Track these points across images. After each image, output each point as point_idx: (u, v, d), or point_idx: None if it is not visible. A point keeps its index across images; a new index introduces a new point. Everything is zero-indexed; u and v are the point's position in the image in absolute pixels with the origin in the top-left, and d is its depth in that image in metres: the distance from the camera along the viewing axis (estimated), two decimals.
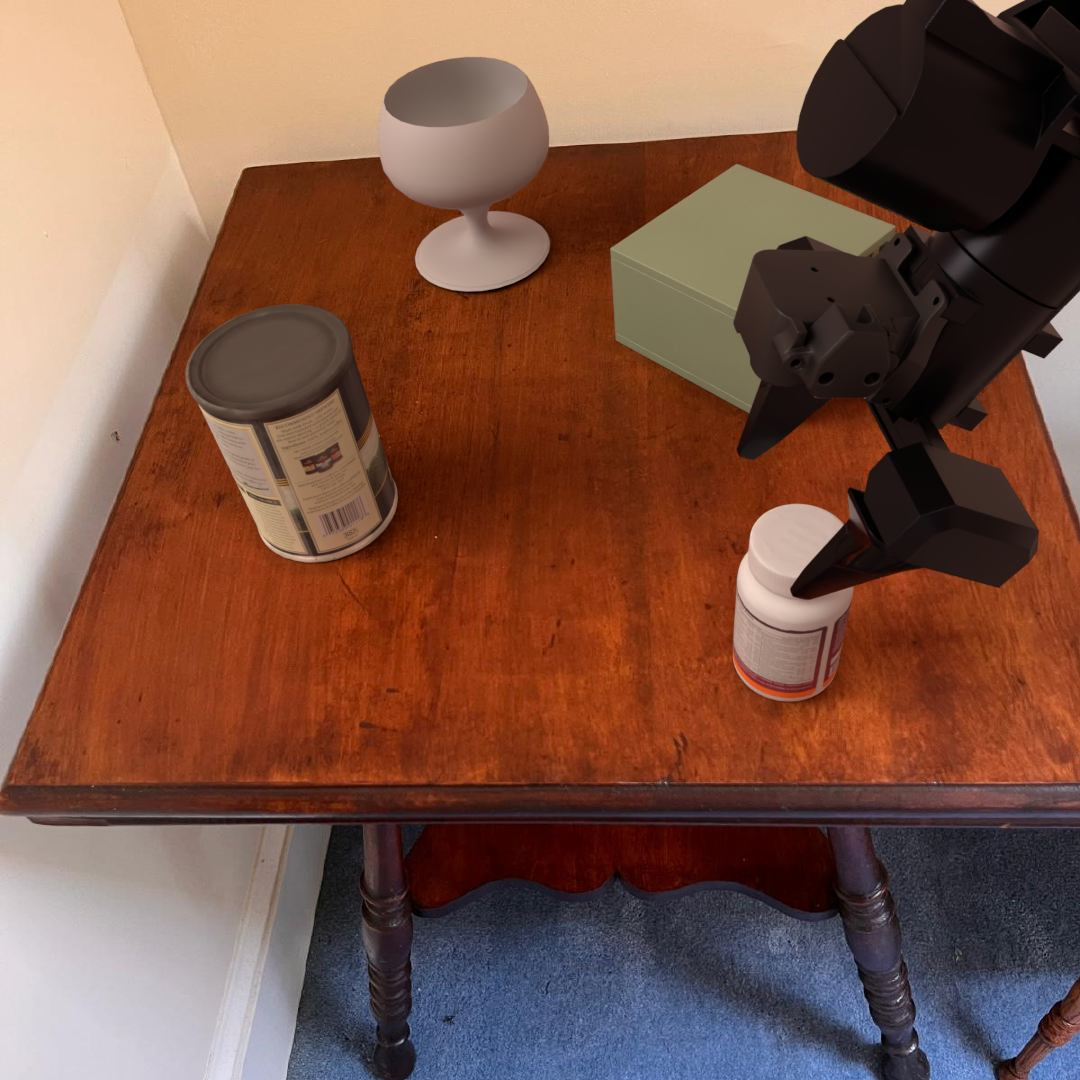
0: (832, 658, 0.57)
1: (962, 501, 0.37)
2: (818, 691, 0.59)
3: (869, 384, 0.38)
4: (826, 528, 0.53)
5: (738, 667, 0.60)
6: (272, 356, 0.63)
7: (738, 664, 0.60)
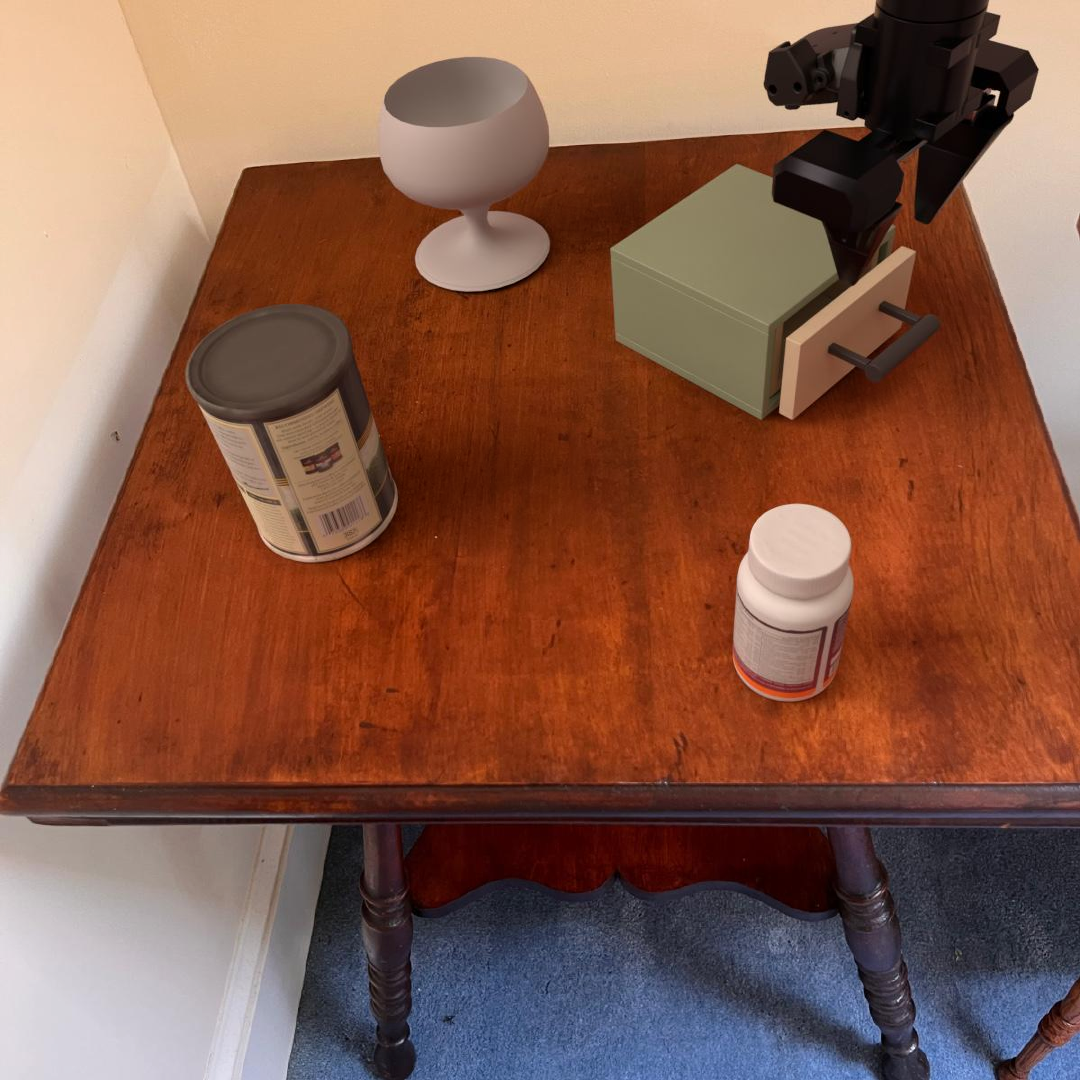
0: (832, 658, 0.57)
1: (800, 155, 0.57)
2: (818, 691, 0.59)
3: (798, 92, 0.59)
4: (826, 528, 0.53)
5: (738, 667, 0.60)
6: (272, 356, 0.63)
7: (738, 664, 0.60)
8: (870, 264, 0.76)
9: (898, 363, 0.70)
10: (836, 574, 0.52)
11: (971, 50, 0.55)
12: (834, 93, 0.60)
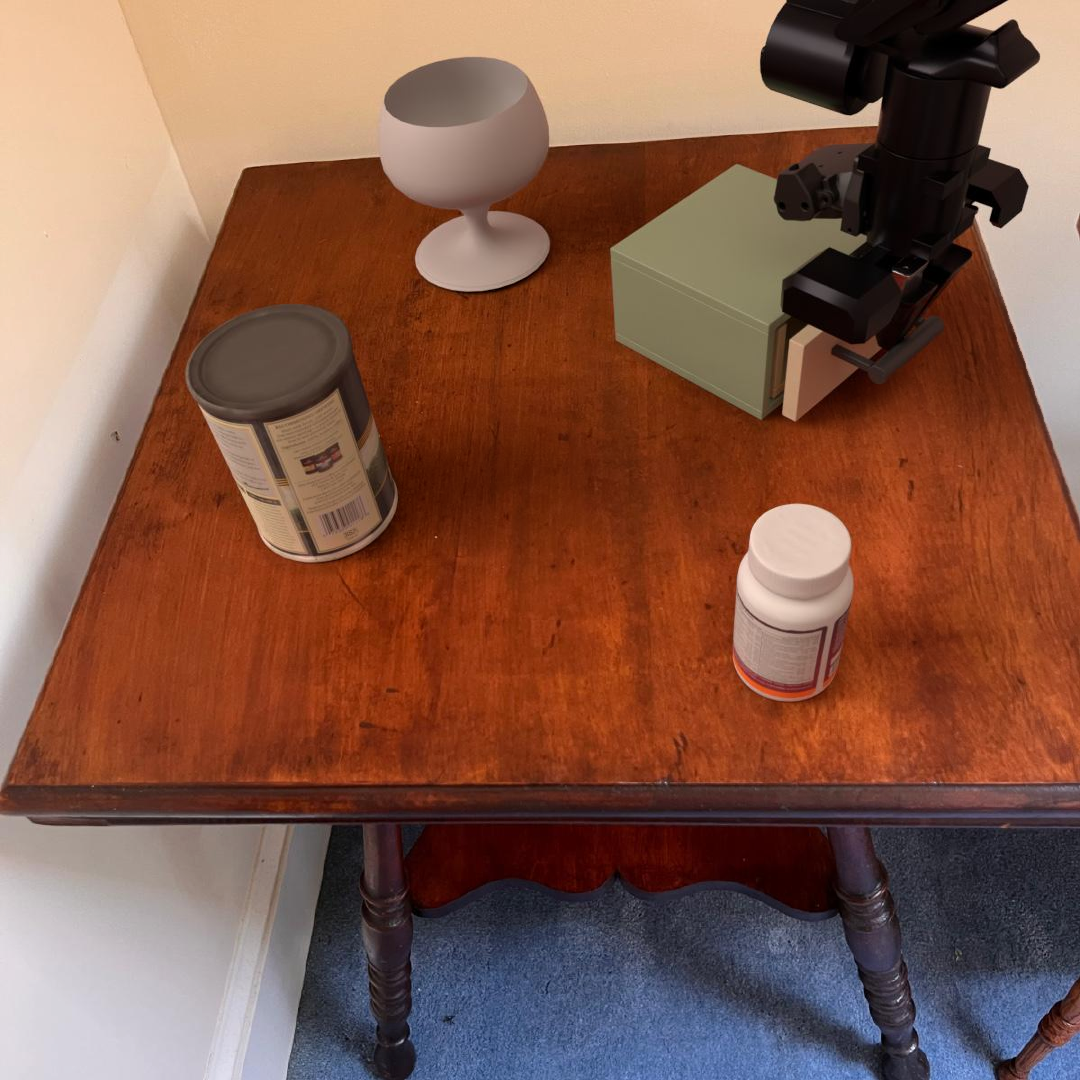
0: (832, 658, 0.57)
1: (806, 273, 0.62)
2: (818, 691, 0.59)
3: (806, 210, 0.65)
4: (825, 527, 0.53)
5: (738, 667, 0.60)
6: (272, 356, 0.63)
7: (738, 664, 0.60)
8: None
9: (902, 365, 0.70)
10: (836, 574, 0.52)
11: (963, 181, 0.60)
12: (838, 210, 0.65)
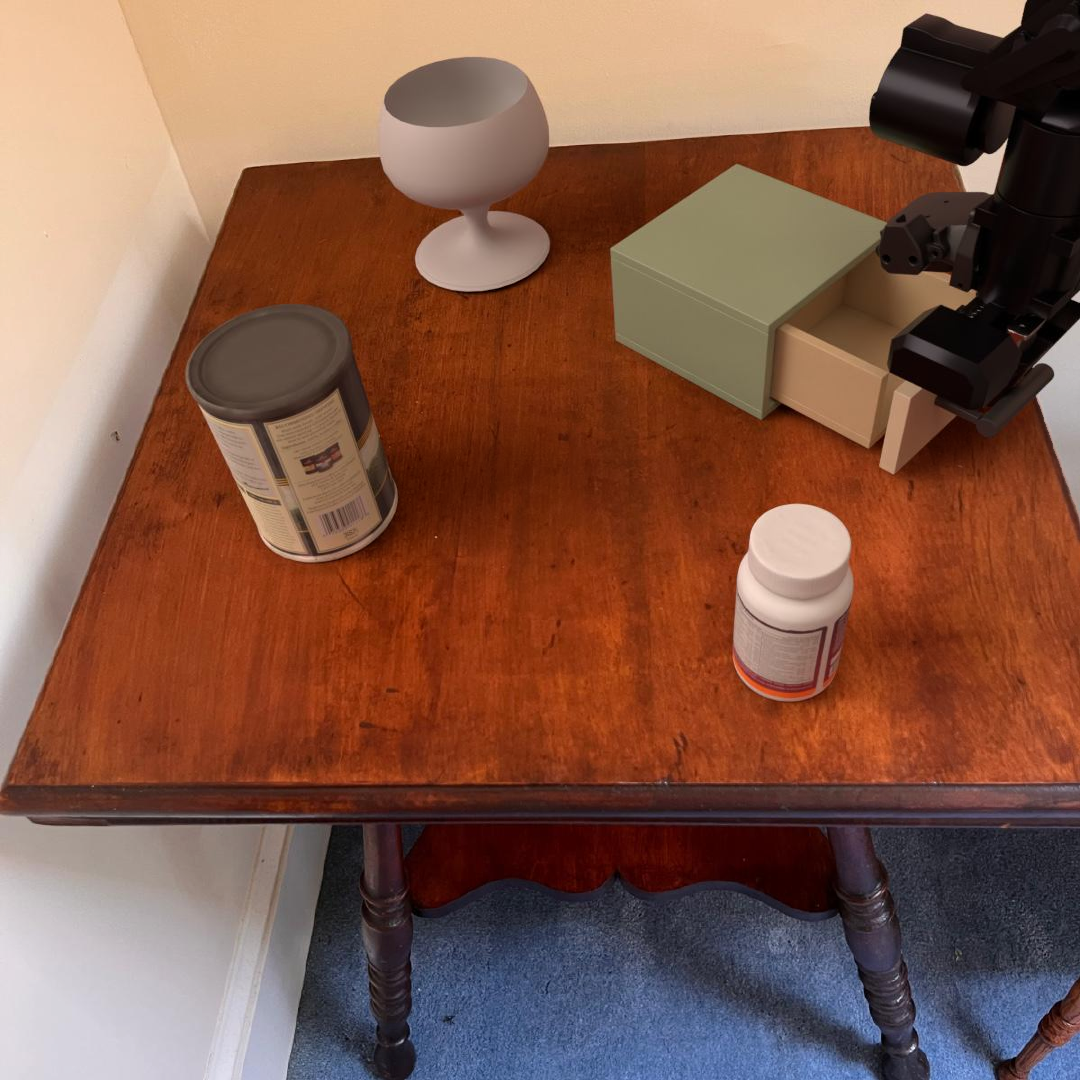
0: (832, 658, 0.57)
1: (919, 333, 0.58)
2: (818, 691, 0.59)
3: (913, 264, 0.61)
4: (826, 528, 0.53)
5: (738, 667, 0.60)
6: (272, 356, 0.63)
7: (738, 664, 0.60)
8: None
9: (1012, 417, 0.66)
10: (836, 574, 0.52)
11: None
12: (947, 264, 0.62)
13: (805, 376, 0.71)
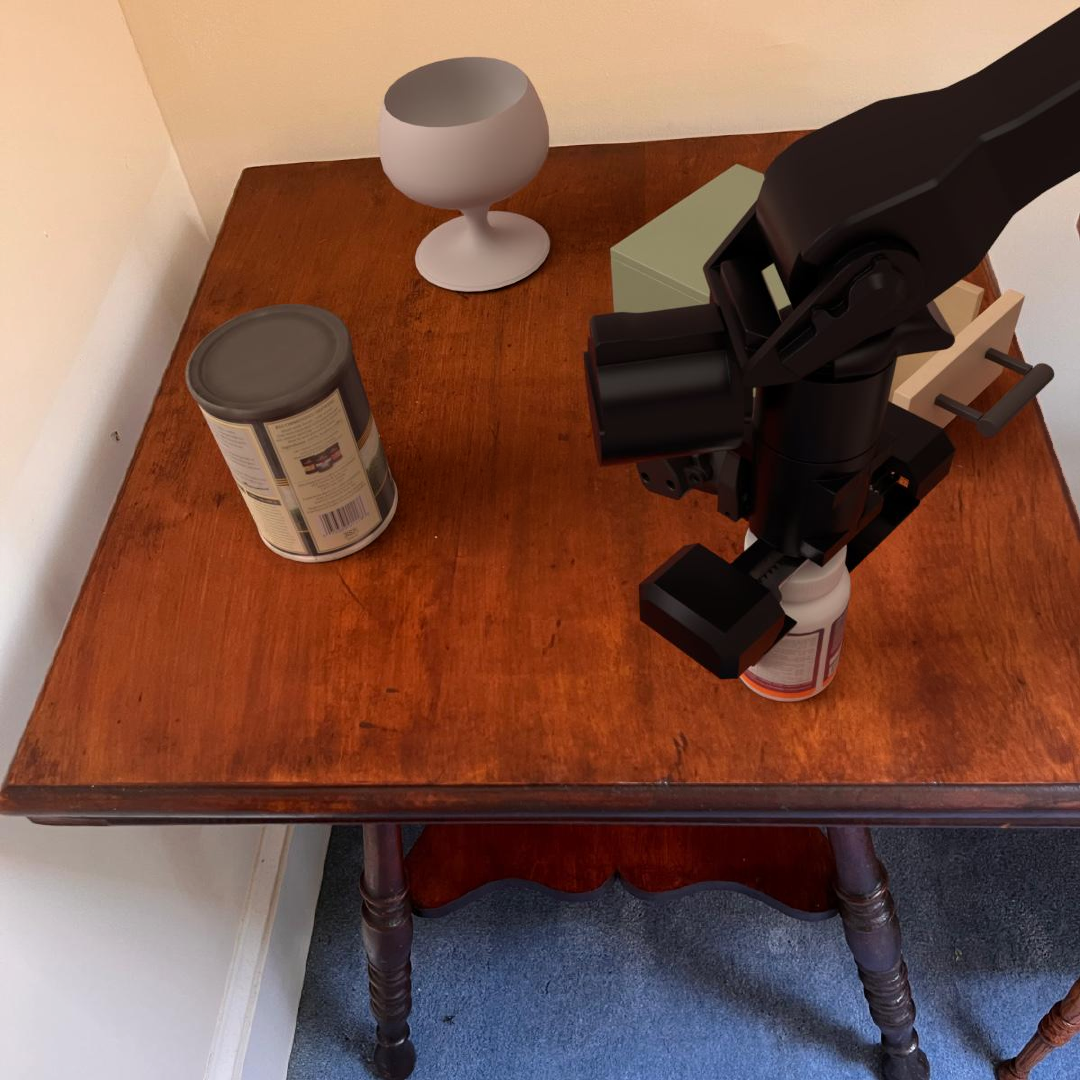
0: (830, 659, 0.57)
1: (665, 584, 0.49)
2: (818, 691, 0.59)
3: (672, 489, 0.51)
4: None
5: None
6: (272, 356, 0.63)
7: None
8: (974, 308, 0.71)
9: (1012, 417, 0.66)
10: (831, 577, 0.52)
11: (862, 480, 0.47)
12: None
13: None
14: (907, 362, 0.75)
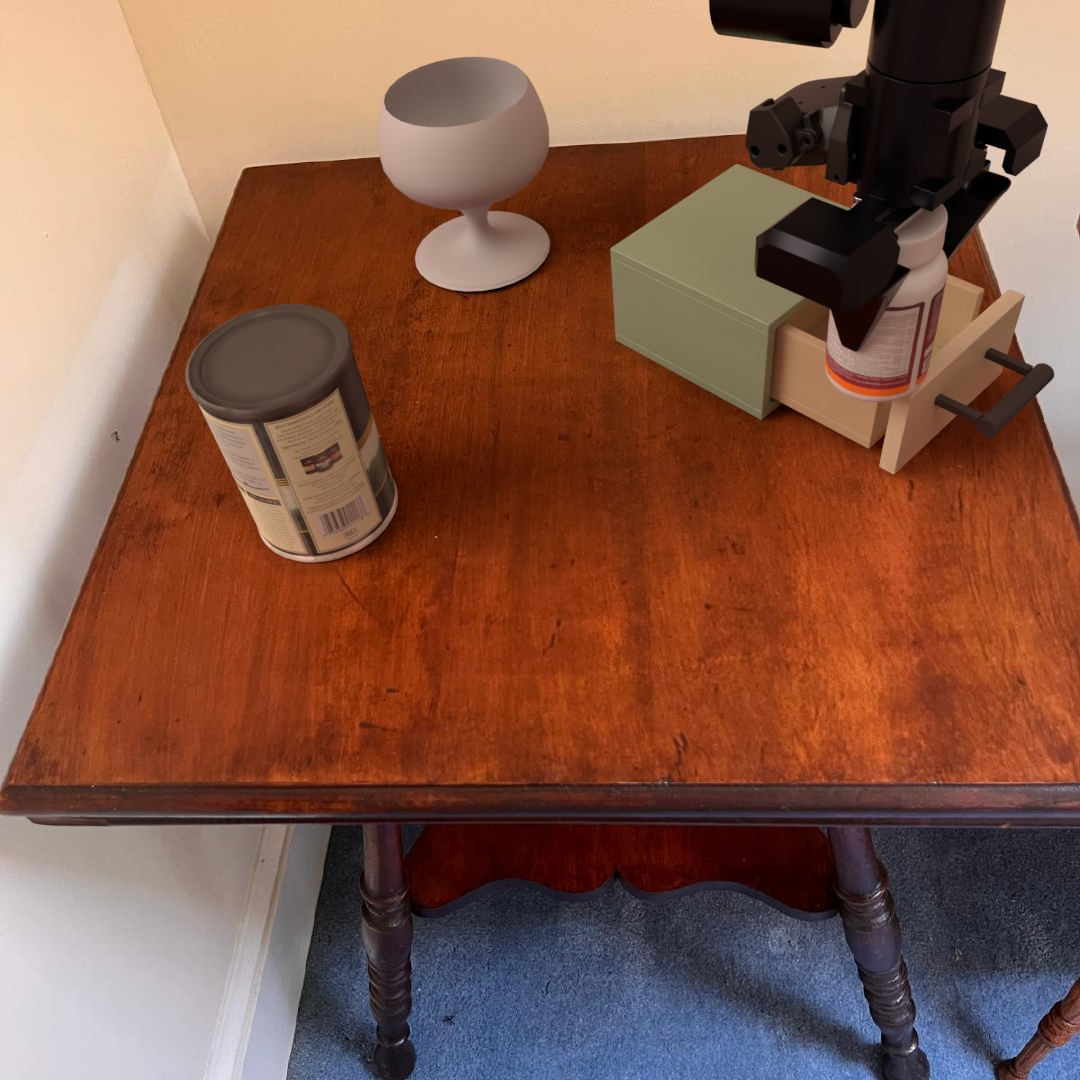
0: (926, 349, 0.60)
1: (784, 227, 0.51)
2: (911, 389, 0.62)
3: (783, 154, 0.54)
4: None
5: (832, 374, 0.63)
6: (272, 356, 0.63)
7: (832, 370, 0.63)
8: (974, 308, 0.71)
9: (1012, 417, 0.66)
10: (935, 240, 0.54)
11: (974, 112, 0.49)
12: (822, 155, 0.54)
13: (805, 376, 0.71)
14: None
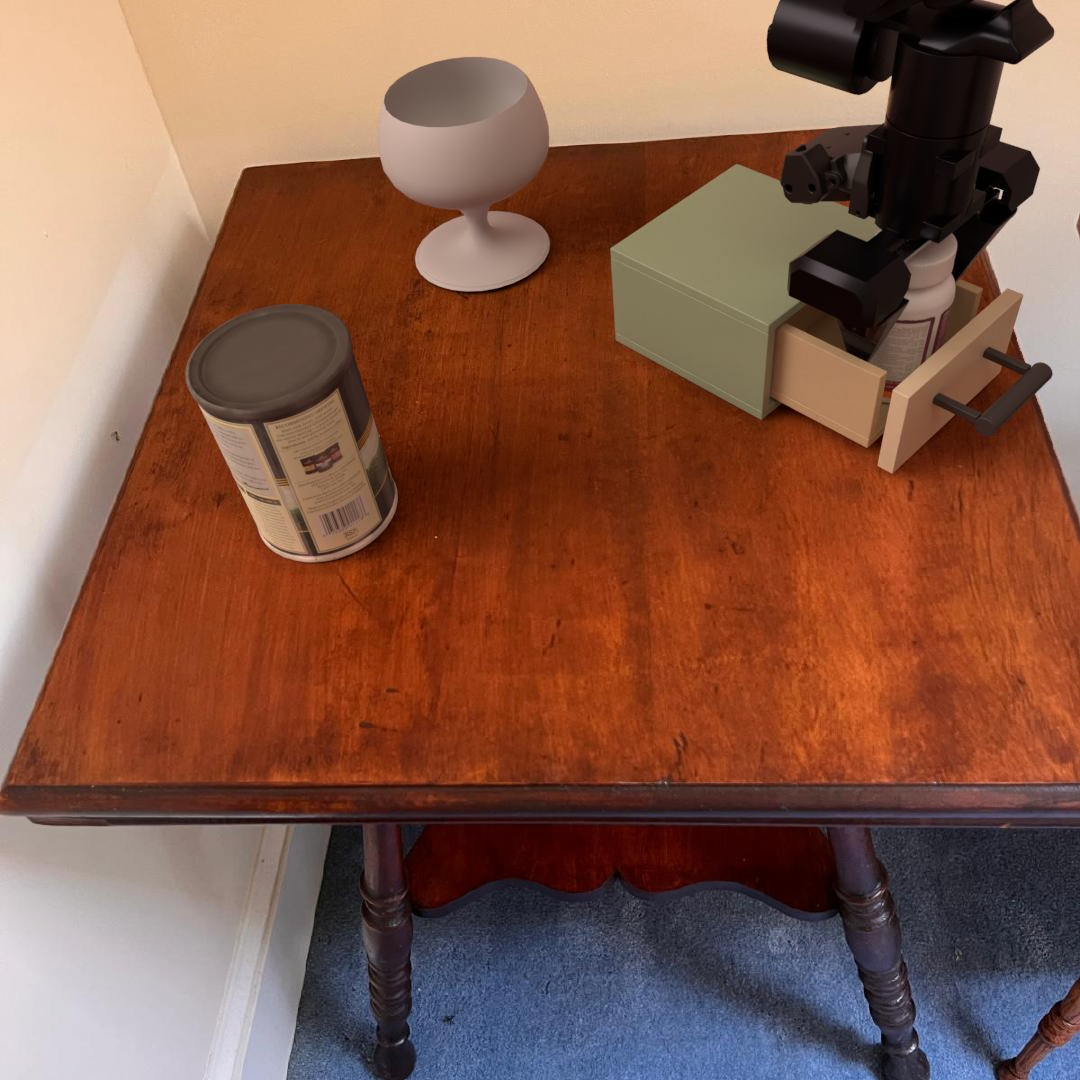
0: None
1: (814, 255, 0.61)
2: None
3: (813, 192, 0.63)
4: None
5: None
6: (272, 356, 0.63)
7: None
8: (972, 307, 0.71)
9: (1010, 416, 0.66)
10: (946, 264, 0.64)
11: (975, 161, 0.59)
12: (846, 193, 0.64)
13: (804, 375, 0.71)
14: None
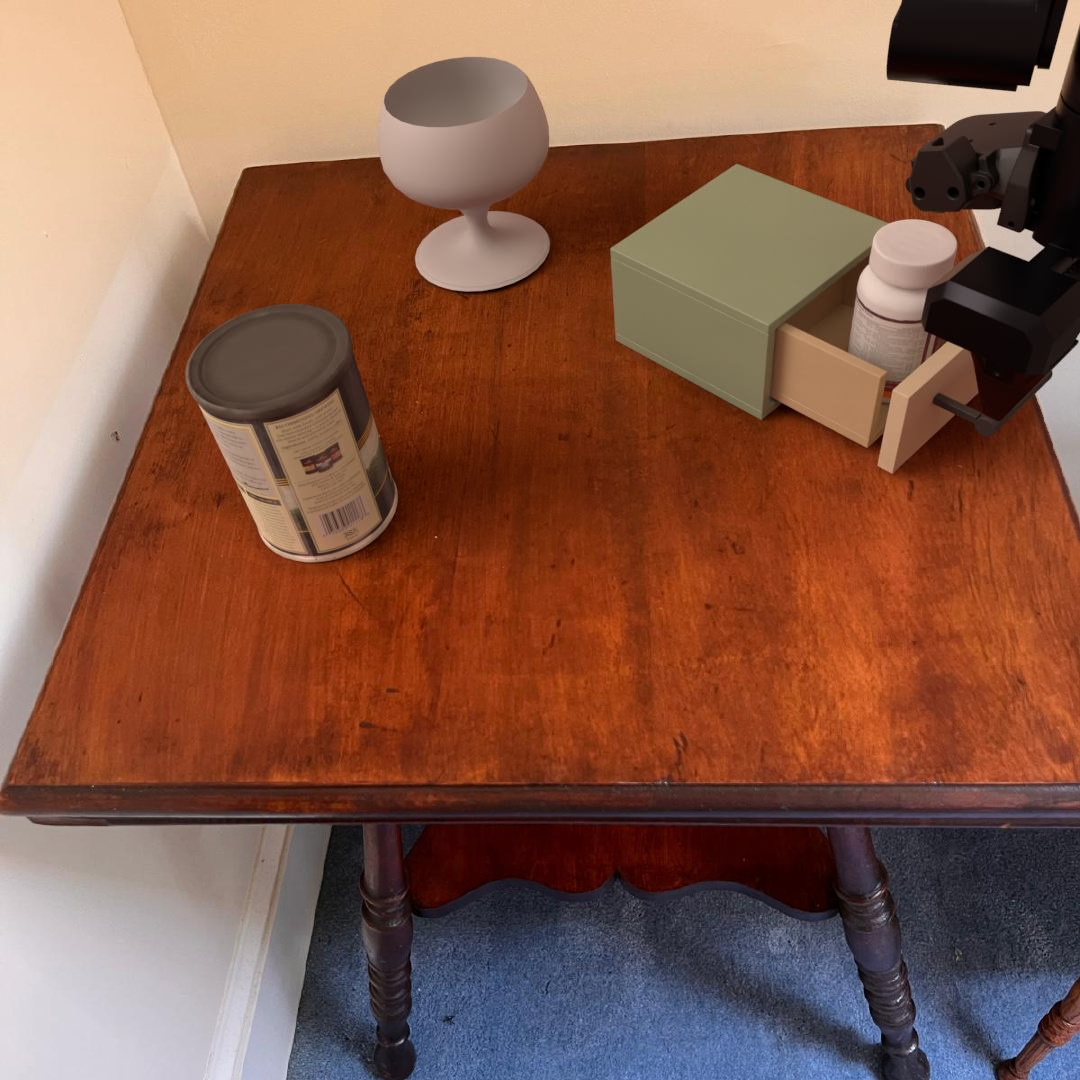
0: None
1: (963, 280, 0.47)
2: None
3: (954, 198, 0.49)
4: (935, 233, 0.66)
5: None
6: (272, 356, 0.63)
7: None
8: None
9: (1010, 416, 0.66)
10: (946, 264, 0.64)
11: None
12: (995, 198, 0.50)
13: (804, 375, 0.71)
14: None
